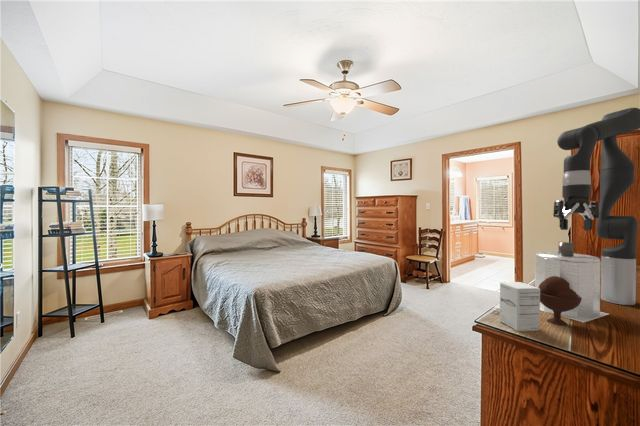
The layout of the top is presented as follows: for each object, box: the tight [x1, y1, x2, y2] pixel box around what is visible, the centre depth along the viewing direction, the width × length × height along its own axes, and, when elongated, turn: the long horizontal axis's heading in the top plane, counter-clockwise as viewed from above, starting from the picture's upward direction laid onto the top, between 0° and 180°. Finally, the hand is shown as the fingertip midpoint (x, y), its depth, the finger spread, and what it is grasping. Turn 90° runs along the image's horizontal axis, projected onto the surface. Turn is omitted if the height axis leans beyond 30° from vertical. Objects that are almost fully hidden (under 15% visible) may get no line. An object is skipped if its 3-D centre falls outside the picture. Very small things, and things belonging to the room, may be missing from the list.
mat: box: [540, 309, 610, 324], centre depth 98 cm, size 17×17×1 cm
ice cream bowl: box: [538, 276, 582, 327], centre depth 87 cm, size 11×11×15 cm
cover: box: [534, 241, 601, 320], centre depth 98 cm, size 17×17×24 cm
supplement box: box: [499, 281, 541, 332], centre depth 85 cm, size 7×7×13 cm
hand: (575, 230), depth 100 cm, fingers open, 8 cm apart
